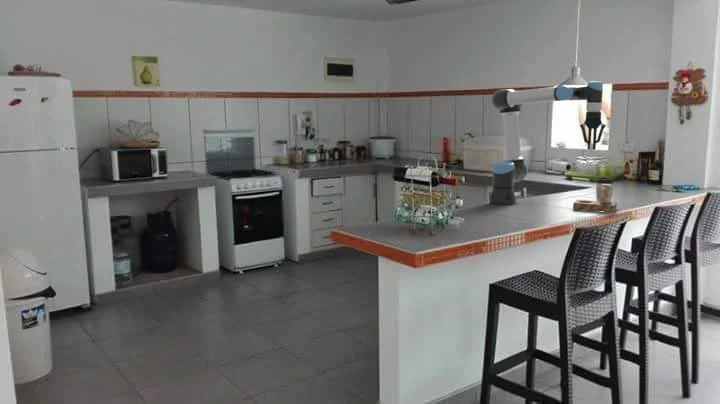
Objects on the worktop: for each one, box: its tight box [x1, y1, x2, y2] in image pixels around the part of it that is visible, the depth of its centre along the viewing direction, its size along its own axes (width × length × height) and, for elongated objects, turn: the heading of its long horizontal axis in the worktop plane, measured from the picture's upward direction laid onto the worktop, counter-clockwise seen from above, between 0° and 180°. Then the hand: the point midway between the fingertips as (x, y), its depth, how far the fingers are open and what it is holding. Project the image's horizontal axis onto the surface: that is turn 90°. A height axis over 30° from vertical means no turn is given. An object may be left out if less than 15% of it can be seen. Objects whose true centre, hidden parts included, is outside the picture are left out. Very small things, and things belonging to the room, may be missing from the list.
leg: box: [600, 184, 611, 204], centre depth 307 cm, size 4×4×14 cm
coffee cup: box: [595, 177, 615, 202], centre depth 325 cm, size 9×9×15 cm
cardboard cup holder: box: [572, 199, 618, 213], centre depth 310 cm, size 20×12×4 cm, turn 61°
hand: (591, 155), depth 312 cm, fingers closed
